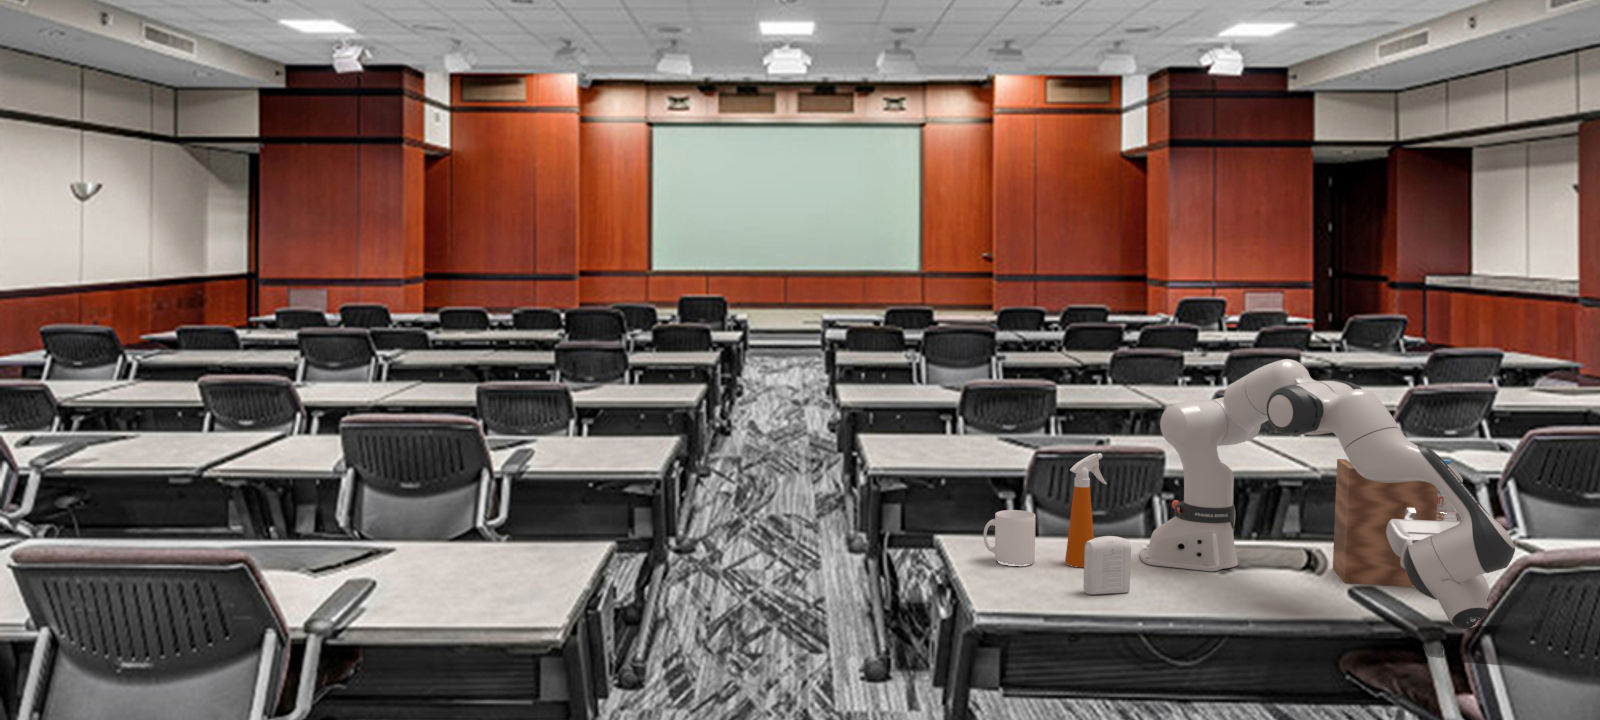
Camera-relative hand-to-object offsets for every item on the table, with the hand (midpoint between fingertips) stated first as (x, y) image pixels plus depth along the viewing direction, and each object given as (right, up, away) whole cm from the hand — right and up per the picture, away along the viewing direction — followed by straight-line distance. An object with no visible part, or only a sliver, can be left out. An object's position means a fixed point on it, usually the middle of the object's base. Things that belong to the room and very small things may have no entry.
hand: (1434, 511), depth 235 cm
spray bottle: (-62, -18, +37) cm, 75 cm away
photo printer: (-64, -20, +14) cm, 68 cm away
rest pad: (-3, +7, +22) cm, 24 cm away
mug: (-81, -18, +38) cm, 91 cm away
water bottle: (+22, -18, +36) cm, 45 cm away
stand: (+1, -18, +24) cm, 30 cm away
